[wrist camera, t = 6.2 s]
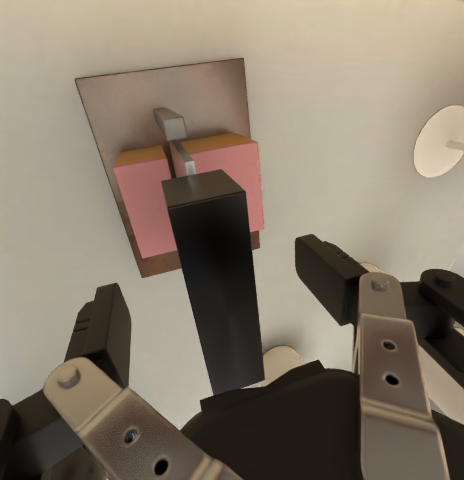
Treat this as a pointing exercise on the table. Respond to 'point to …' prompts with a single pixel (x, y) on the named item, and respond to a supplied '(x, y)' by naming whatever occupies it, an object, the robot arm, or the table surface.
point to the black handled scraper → (217, 269)
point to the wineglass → (440, 142)
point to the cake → (156, 170)
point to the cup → (279, 363)
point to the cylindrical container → (439, 379)
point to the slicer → (163, 121)
